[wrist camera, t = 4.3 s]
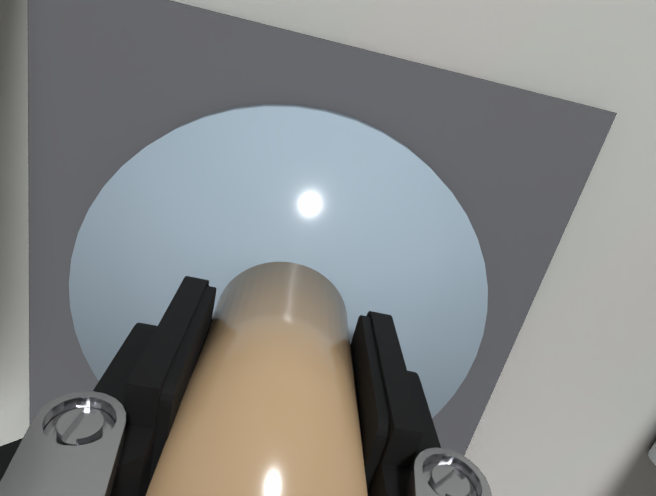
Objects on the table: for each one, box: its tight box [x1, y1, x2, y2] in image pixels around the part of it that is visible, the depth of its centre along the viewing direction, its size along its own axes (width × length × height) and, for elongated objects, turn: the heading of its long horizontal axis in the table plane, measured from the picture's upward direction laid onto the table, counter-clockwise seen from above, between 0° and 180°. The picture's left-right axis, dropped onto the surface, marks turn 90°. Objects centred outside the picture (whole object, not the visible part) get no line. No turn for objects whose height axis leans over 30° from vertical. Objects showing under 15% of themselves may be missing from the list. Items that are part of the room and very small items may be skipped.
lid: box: [69, 103, 488, 496], centre depth 10 cm, size 11×11×8 cm
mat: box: [28, 0, 617, 456], centre depth 14 cm, size 14×14×1 cm
